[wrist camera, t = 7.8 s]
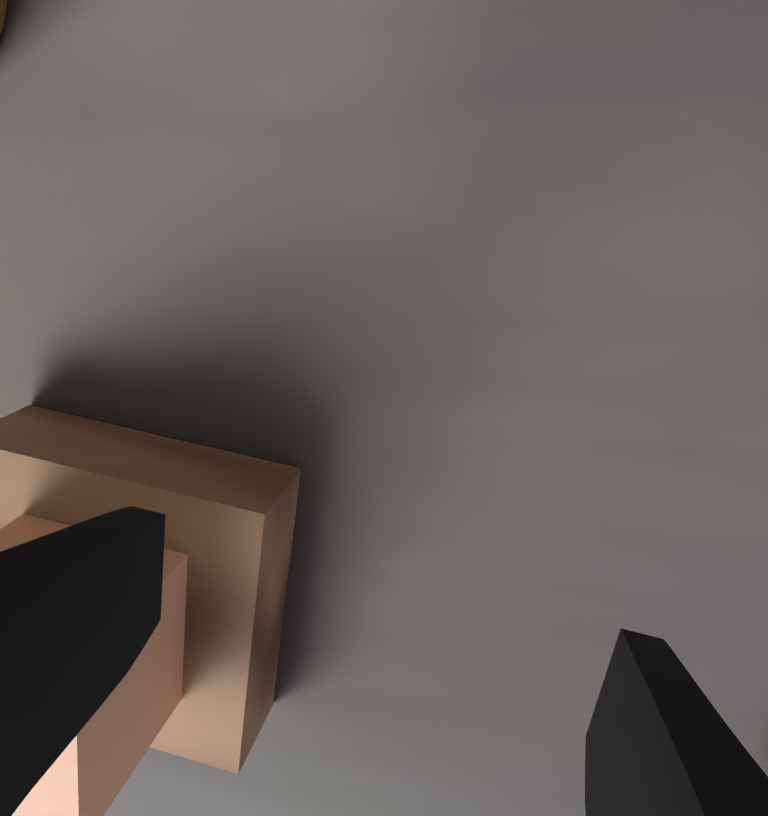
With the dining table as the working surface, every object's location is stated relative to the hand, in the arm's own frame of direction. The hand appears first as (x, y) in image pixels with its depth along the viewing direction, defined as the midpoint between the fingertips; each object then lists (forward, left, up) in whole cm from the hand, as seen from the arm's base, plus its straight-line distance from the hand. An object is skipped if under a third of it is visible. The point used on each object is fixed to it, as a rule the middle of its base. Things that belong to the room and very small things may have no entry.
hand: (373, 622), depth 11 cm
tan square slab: (-7, +9, -9) cm, 14 cm away
